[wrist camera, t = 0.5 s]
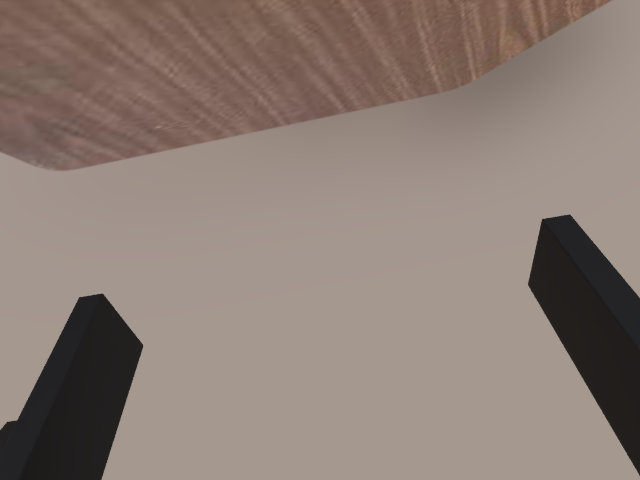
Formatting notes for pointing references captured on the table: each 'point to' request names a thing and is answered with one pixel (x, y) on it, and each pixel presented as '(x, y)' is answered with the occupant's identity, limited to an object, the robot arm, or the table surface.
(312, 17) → the table surface
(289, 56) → the table surface
